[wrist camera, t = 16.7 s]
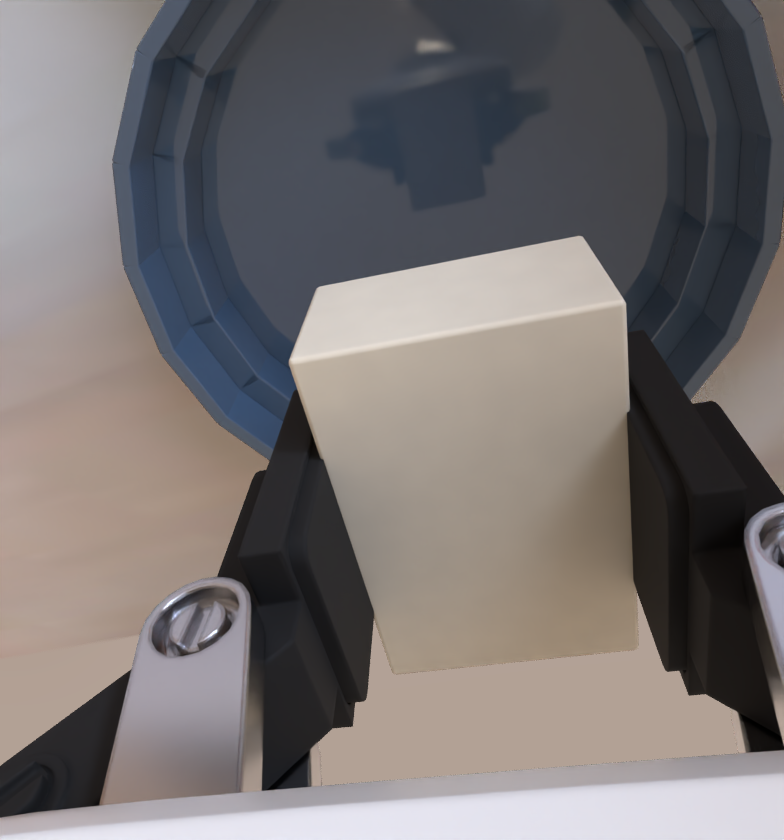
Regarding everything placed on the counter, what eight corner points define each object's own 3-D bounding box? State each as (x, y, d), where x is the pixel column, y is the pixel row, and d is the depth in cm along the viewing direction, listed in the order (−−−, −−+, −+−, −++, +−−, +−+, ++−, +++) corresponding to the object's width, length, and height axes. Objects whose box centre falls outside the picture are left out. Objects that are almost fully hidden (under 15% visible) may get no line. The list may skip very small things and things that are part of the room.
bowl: (741, -223, 17) (831, -288, 13) (711, 402, 27) (759, 468, 23) (70, -40, 20) (-14, -51, 16) (262, 470, 30) (239, 539, 26)
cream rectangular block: (582, 233, 10) (628, 299, 7) (604, 542, 13) (640, 651, 11) (315, 285, 10) (285, 361, 8) (397, 568, 13) (392, 677, 11)
